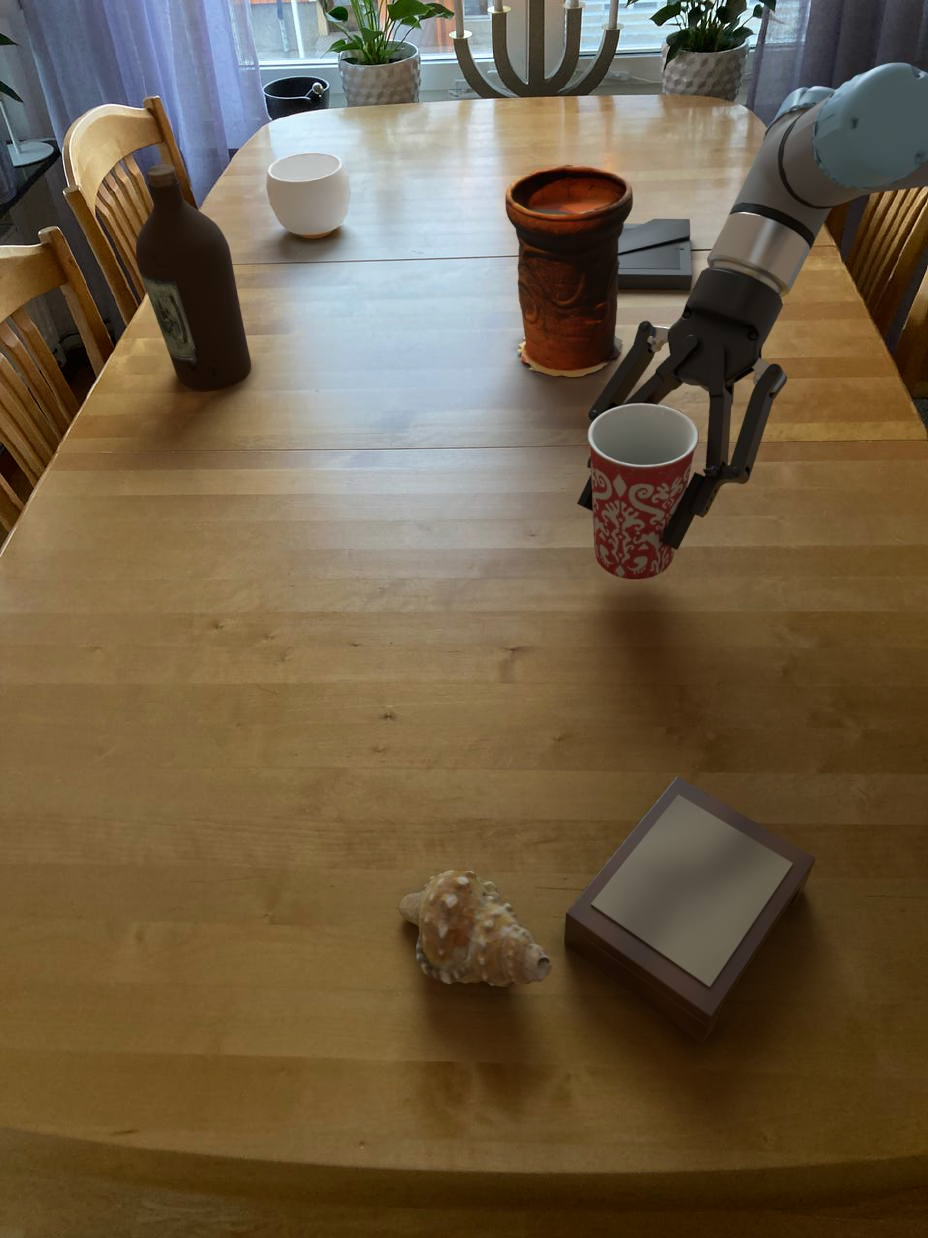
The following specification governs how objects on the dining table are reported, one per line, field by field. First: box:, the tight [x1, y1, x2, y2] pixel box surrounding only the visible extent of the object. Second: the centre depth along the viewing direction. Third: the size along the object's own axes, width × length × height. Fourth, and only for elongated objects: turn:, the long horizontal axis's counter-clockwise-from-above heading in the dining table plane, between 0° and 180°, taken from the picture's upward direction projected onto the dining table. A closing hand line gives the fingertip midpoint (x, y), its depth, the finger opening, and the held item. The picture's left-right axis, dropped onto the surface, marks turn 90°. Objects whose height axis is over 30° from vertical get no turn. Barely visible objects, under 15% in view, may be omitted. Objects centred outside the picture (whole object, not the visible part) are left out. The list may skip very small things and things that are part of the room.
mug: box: [587, 403, 700, 580], centre depth 86 cm, size 13×9×14 cm
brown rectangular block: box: [563, 775, 816, 1045], centre depth 67 cm, size 11×14×5 cm
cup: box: [265, 151, 352, 240], centre depth 147 cm, size 12×12×10 cm
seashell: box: [398, 869, 553, 988], centre depth 66 cm, size 9×8×10 cm
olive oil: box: [135, 163, 252, 392], centre depth 114 cm, size 11×11×25 cm
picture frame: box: [618, 218, 693, 291], centre depth 137 cm, size 16×3×21 cm
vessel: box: [504, 164, 634, 378], centre depth 115 cm, size 14×14×20 cm
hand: (626, 526), depth 86 cm, fingers closed on mug, 8 cm apart
